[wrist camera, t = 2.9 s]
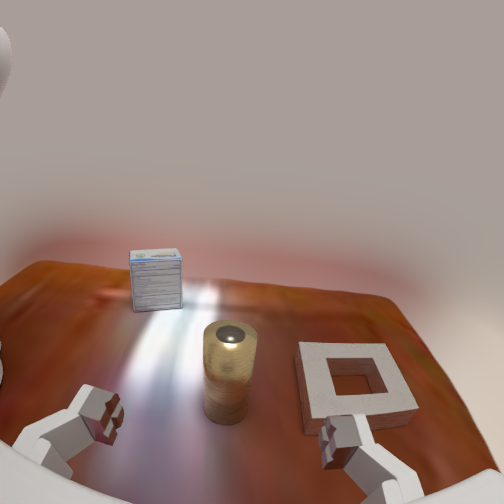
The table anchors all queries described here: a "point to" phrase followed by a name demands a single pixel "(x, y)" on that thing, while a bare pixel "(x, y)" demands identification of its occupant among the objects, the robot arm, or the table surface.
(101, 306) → the table surface
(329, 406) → the aluminium jig
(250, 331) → the brass bushing
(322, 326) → the table surface
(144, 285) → the medicine box
